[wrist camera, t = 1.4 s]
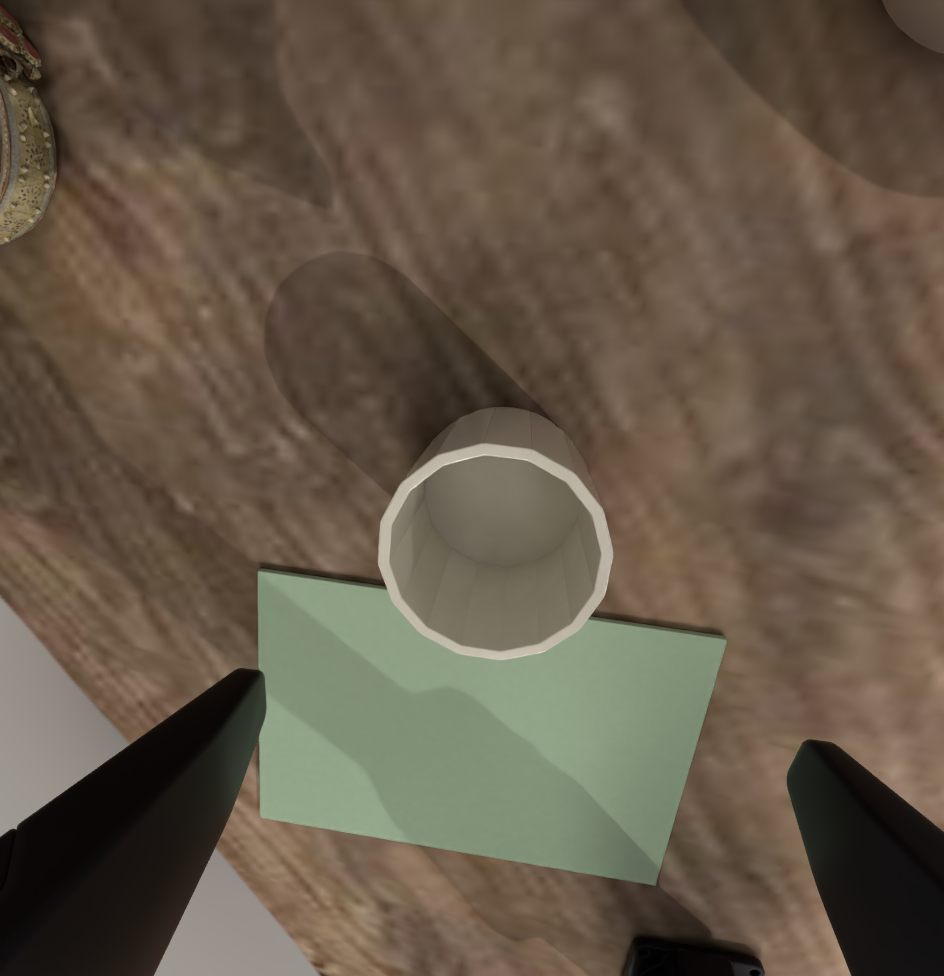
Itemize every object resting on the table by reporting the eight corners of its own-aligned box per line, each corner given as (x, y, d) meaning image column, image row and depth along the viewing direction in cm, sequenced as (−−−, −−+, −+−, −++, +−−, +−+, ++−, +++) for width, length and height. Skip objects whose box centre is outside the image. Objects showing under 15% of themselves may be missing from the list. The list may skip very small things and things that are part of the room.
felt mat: (654, 879, 27) (655, 885, 27) (262, 812, 28) (259, 817, 28) (725, 635, 23) (727, 639, 23) (260, 567, 24) (257, 570, 24)
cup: (572, 577, 23) (588, 674, 17) (413, 554, 23) (372, 641, 17) (601, 418, 21) (633, 462, 15) (426, 396, 21) (385, 430, 15)
